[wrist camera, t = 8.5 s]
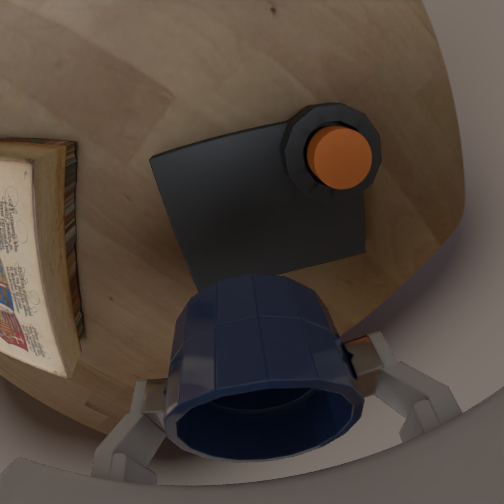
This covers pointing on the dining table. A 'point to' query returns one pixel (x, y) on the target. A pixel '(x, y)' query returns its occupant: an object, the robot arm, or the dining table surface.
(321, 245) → the scale
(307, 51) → the dining table surface
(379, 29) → the dining table surface
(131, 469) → the robot arm
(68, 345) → the book
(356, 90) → the dining table surface
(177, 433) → the cup
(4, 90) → the dining table surface
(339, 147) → the button
